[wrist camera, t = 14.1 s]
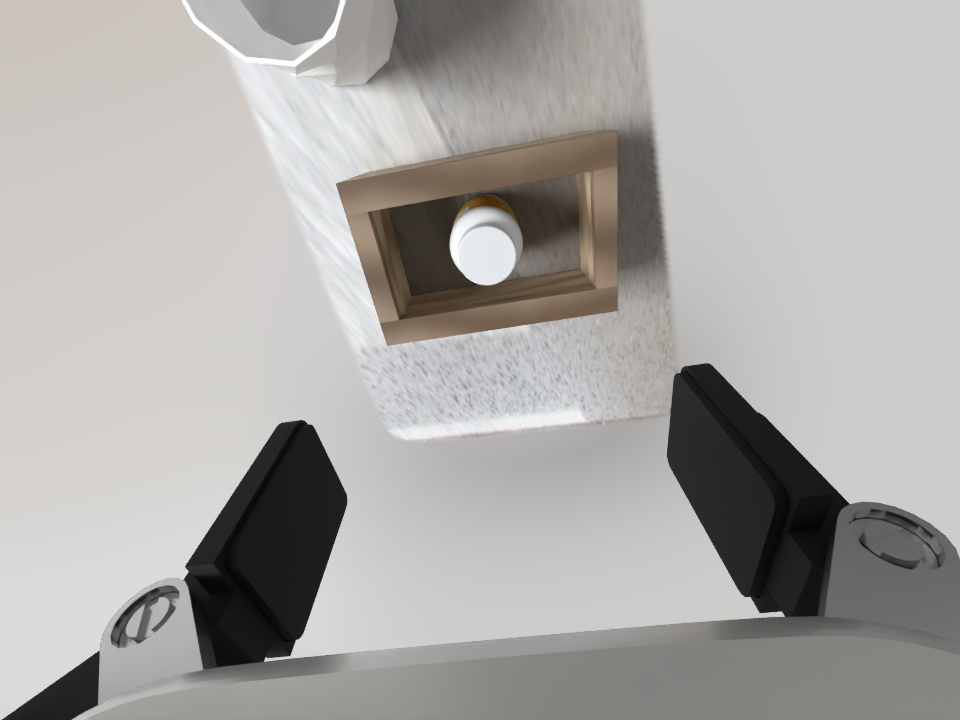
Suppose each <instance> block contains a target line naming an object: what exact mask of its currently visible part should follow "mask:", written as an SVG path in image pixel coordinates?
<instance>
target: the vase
mask: <svg viewBox="0 0 960 720" xmlns="http://www.w3.org/2000/svg"><path fill="white" fill-rule="evenodd" d="M181 1H182V3H183V4H184V6H185V8H186V10H187V11H188V13H189V15H190V17H191V19H192V20H193V22H194V24H196V25H197V26H198V27H199V28H201V29H202V30H203V31H205V32H206V33H207V34H209V35H210V36H211V37H213V38H214V39H215V40H216V41H218V42H219V43H220V44H222V45H223V46H224V47H226V48H227V49H228V50H229V51H231V52H232V53H233V54H235V55H236V56H237V57H239V58H240V59H241V60H243V61H244V62H251V63H260V64H264V65H268V66H272V67H275V68H278V69H281V70H284V71H287V72H288V73H290V74H292V75H293V76H295V77H306V78H312V79H316V80H319V81H322V82H324V83H326V84H328V85H329V86H331V87H336V86H348V85H360V84H365V83H366V82H367V81H368V80H369V79H370V78H371V77H372V76H373V75H374V74H375V73H376V72H377V71H378V70H379V69H380V68H381V67H382V66H383V65H384V64H385V63H386V62H387V61H388V60H389V58H390V54H391V49H392V44H393V40H394V35H395V30H396V26H397V21H398V16H397V12H396V8H395V4H394V0H181Z"/></svg>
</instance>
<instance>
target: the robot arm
mask: <svg viewBox="0 0 960 720" xmlns="http://www.w3.org/2000/svg"><path fill="white" fill-rule="evenodd" d="M667 458H668V462H669V465H670V467H671V470H672V471H673V473H674V475H675V477H676V479H677V480H678V482H679V484H680V486H681V488H682V489H683V491H684V493H685V495H686V497H687V498H688V500H689V502H690V504H691V506H692V507H693V509H694V511H695V513H696V514H697V516H698V518H699V520H700V522H701V524H702V525H703V527H704V529H705V531H706V532H707V534H708V536H709V538H710V539H711V541H712V543H713V545H714V547H715V549H716V550H717V552H718V554H719V556H720V558H721V559H722V561H723V563H724V565H725V566H726V568H727V570H728V572H729V574H730V576H731V577H732V579H733V581H734V583H735V585H736V586H737V588H738V590H739V591H740V593H741V594H742V595H743V596H745V597H751V598H752V600H753V602H754V604H755V605H756V607H757V609H758V611H759V612H760V613H768V612H778V611H782V612H783V614H784V615H785V617H768V618H754V619H738V620H723V621H709V622H694V623H680V624H669V625H656V626H645V627H633V628H621V629H610V630H598V631H587V632H576V633H563V634H551V635H540V636H529V637H518V638H507V639H496V640H484V641H473V642H463V643H452V644H441V645H430V646H419V647H408V648H398V649H387V650H377V651H367V652H357V653H346V654H336V655H325V656H315V657H304V658H294V659H285V660H276V661H268V662H264V660H265V657H267V658H274V657H285V656H290V655H291V652H292V649H293V646H294V644H295V641H296V640H297V639H299V638H300V637H301V636H302V634H303V632H304V630H305V627H306V624H307V621H308V619H309V616H310V613H311V610H312V607H313V603H314V601H315V598H316V595H317V592H318V589H319V586H320V583H321V580H322V577H323V574H324V571H325V569H326V565H327V562H328V560H329V557H330V554H331V551H332V548H333V545H334V542H335V539H336V536H337V533H338V530H339V527H340V524H341V521H342V518H343V516H344V513H345V509H346V506H347V495H346V492H345V490H344V488H343V486H342V484H341V482H340V480H339V478H338V475H337V473H336V471H335V469H334V467H333V465H332V463H331V461H330V459H329V457H328V455H327V453H326V451H325V449H324V447H323V445H322V443H321V441H320V438H319V436H318V434H317V432H316V430H315V428H314V427H313V426H312V425H308V424H307V423H306V422H305V421H303V420H299V421H292V422H285V423H281V424H279V425H278V426H277V427H276V429H275V430H274V432H273V433H272V435H271V436H270V438H269V440H268V441H267V443H266V444H265V446H264V447H263V449H262V450H261V452H260V453H259V455H258V456H257V458H256V459H255V461H254V462H253V464H252V465H251V467H250V469H249V470H248V472H247V473H246V475H245V476H244V478H243V479H242V481H241V482H240V484H239V485H238V487H237V488H236V490H235V491H234V493H233V494H232V496H231V497H230V499H229V501H228V502H227V504H226V505H225V507H224V508H223V510H222V511H221V513H220V514H219V516H218V517H217V519H216V520H215V522H214V523H213V525H212V526H211V528H210V529H209V531H208V533H207V534H206V535H205V537H204V538H203V540H202V542H201V543H200V545H199V546H198V548H197V549H196V551H195V552H194V554H193V555H192V557H191V558H190V560H189V561H188V563H187V564H186V566H185V567H186V569H187V570H188V571H189V572H188V574H187V576H186V577H185V579H184V580H181V579H179V578H168V579H164V580H161V581H159V582H156V583H154V584H152V585H150V586H148V587H146V588H144V589H143V590H141V591H140V592H139V593H137V594H136V595H134V596H133V597H132V598H131V599H129V600H128V601H127V602H126V603H125V604H124V605H123V606H122V607H121V608H120V609H119V610H118V611H117V613H116V614H115V615H114V616H113V618H112V619H111V620H110V622H109V623H108V625H107V627H106V629H105V631H104V633H103V635H102V639H101V643H100V651H99V652H97V653H95V654H94V655H93V656H91V657H90V658H88V659H87V660H86V661H84V662H83V663H81V664H80V665H79V666H77V667H76V668H74V669H73V670H72V671H70V672H69V673H67V674H66V675H64V676H63V677H62V678H60V679H59V680H57V681H56V682H55V683H53V684H52V685H50V686H49V687H47V688H46V689H45V690H43V691H42V692H40V693H39V694H38V695H36V696H35V697H33V698H32V699H30V700H29V701H28V702H26V703H25V704H23V705H22V706H21V707H19V708H18V709H16V710H15V711H14V712H12V713H11V714H9V715H8V716H7V717H5V718H4V719H2V720H960V558H959V556H958V553H957V550H956V548H955V547H954V546H953V545H952V544H951V542H950V541H949V540H948V538H947V537H946V536H945V535H944V534H943V533H941V532H940V531H939V530H938V529H936V528H935V527H934V526H932V525H931V524H930V523H928V522H926V521H925V520H923V519H921V518H919V517H917V516H916V515H914V514H912V513H909V512H907V511H904V510H902V509H899V508H897V507H894V506H889V505H885V504H881V503H874V502H859V503H854V504H849V503H848V502H847V501H846V500H845V499H844V498H843V497H842V496H841V495H840V494H839V493H838V491H837V490H836V489H834V487H833V486H832V485H831V484H829V482H828V481H827V480H826V479H825V478H824V477H823V476H822V475H821V474H820V473H819V472H818V471H817V470H816V469H815V468H814V467H813V466H812V465H811V464H810V463H809V462H808V461H807V460H806V459H805V458H804V457H803V455H801V453H800V452H799V451H798V450H797V449H796V448H795V447H794V446H793V445H792V444H791V443H790V442H789V441H788V440H787V439H786V438H785V437H784V436H783V435H782V434H781V433H780V432H779V431H778V430H777V429H776V428H775V427H774V426H773V425H772V424H771V423H770V422H769V421H768V419H767V418H766V417H764V416H763V415H762V414H760V413H757V412H756V411H755V410H754V409H753V408H752V406H751V405H750V404H749V403H748V402H747V401H746V400H745V399H744V398H743V397H742V396H741V395H740V394H739V393H738V392H737V391H736V390H735V389H734V388H733V387H732V386H731V385H730V384H729V383H728V382H727V381H726V379H725V378H724V377H723V376H722V375H721V374H720V373H719V372H718V371H717V370H716V369H715V368H714V367H713V366H712V365H711V364H708V363H707V364H699V365H692V366H685V367H683V368H682V370H681V373H677V374H675V376H674V383H673V394H672V405H671V416H670V428H669V437H668V448H667Z"/></svg>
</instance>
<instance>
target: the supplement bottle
mask: <svg viewBox="0 0 960 720" xmlns="http://www.w3.org/2000/svg"><path fill="white" fill-rule="evenodd" d="M522 250H523V239H522V234H521V230H520V228H519V225H518V223H517V220H516V217H515V214H514V212H513V210H512V209H511V207H510V206H509V205H508V204H507V203H506V202H505V201H504V200H502V199H501V198H499V197H497V196H494V195H489V194H483V195H477V196H475V197H472V198H471V199H469V200H468V201H466V202H465V203H464V204H463V205H462V207H461V208H460V209H459V211H458V213H457V215H456V218H455V222H454V225H453V229H452V232H451V236H450V252H451V256H452V259H453V261H454V263H455V265H456V266H457V268H458V269H459V270H460V271H461V272H462V273H463V274H464V275H465V276H466V277H467V278H468V279H469V280H470V281H472V282H474V283H476V284H479V285H494V284H497V283H499V282H501V281H503V280H504V279H506V278H507V277H508V276H509V275H510V273H511V272H512V270H513V269H514V268H515V267H516V265H517V264H518V262H519V260H520V257H521V254H522Z"/></svg>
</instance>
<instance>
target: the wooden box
mask: <svg viewBox="0 0 960 720" xmlns="http://www.w3.org/2000/svg"><path fill="white" fill-rule="evenodd" d="M574 174H576V176H577V198H578V220H579V242H580V263H581V269H577V270H570V271H564V272H558V273H552V274H545V275H539V276H533V277H527V278H521V279H514V280H508V281H502V282H499V283H497V284H494V285H477V286H471V287H465V288H459V289H452V290H446V291H440V292H434V293H428V294H421V295H415V296H411V293H410V289H409V285H408V282H407V278H406V274H405V270H404V266H403V263H402V259H401V255H400V251H399V248H398V244H397V240H396V236H395V233H394V229H393V225H392V221H391V217H390V214H389V210H388V208H391V207H397V206H402V205H408V204H413V203H419V202H424V201H430V200H435V199H441V198H446V197H452V196H458V195H463V194H469V193H474V192H480V191H485V190H491V189H496V188H502V187H507V186H513V185H518V184H524V183H530V182H535V181H541V180H546V179H552V178H557V177H563V176H568V175H574ZM336 186H337V189H338V192H339V195H340V198H341V201H342V205H343V208H344V211H345V214H346V217H347V220H348V223H349V227H350V230H351V233H352V236H353V239H354V242H355V246H356V249H357V252H358V255H359V258H360V261H361V265H362V268H363V271H364V274H365V277H366V280H367V283H368V287H369V290H370V293H371V296H372V299H373V302H374V306H375V309H376V312H377V315H378V318H379V321H380V324H381V328H382V331H383V334H384V337H385V340H386V343H387V346H389V345H396V344H402V343H409V342H416V341H422V340H429V339H435V338H442V337H449V336H455V335H462V334H468V333H475V332H482V331H488V330H495V329H501V328H508V327H515V326H521V325H528V324H534V323H541V322H548V321H554V320H561V319H567V318H574V317H581V316H587V315H594V314H600V313H607V312H614V311H618V131H584V132H579V133H574V134H569V135H563V136H558V137H553V138H547V139H542V140H537V141H531V142H526V143H521V144H516V145H510V146H505V147H500V148H494V149H489V150H484V151H479V152H473V153H468V154H463V155H457V156H452V157H447V158H441V159H436V160H431V161H426V162H420V163H415V164H410V165H404V166H399V167H394V168H388V169H383V170H378V171H373V172H367V173H364V174H361V175H359V176H356V177H353V178H350V179H348V180H345V181H342V182H339V183H337V184H336Z"/></svg>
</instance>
